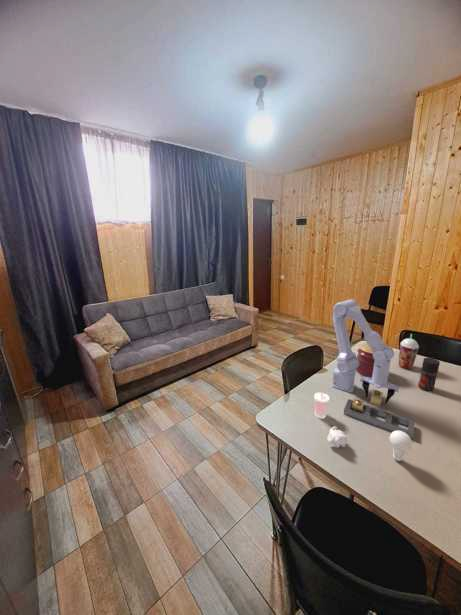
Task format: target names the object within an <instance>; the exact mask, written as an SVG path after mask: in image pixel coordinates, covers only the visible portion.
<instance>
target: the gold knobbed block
mask: <svg viewBox="0 0 461 615" xmlns="http://www.w3.org/2000/svg"><path fill="white" fill-rule="evenodd" d="M365 403H366V402H364V401H362V400H359V399H356V398H354V399H353V403H352V407H351V410H354V411H356V412H359V413H362V414H364V411H363V409H364V404H365Z"/></svg>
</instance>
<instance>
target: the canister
mask: <svg viewBox="0 0 461 615" xmlns="http://www.w3.org/2000/svg"><path fill="white" fill-rule="evenodd" d="M357 353H358V354H356V357H357V359H358V360H359V366H358V367H357V368H356V372H357V374H359V375H361V376H364V377H371V378H372V375H373V369H374V362H375V360H374V358H373V354H374V352H373V351H372V349H371V348H370V346H369V345H368V343H367V342H366V343H363V344H361V345H359V348H357Z"/></svg>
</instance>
